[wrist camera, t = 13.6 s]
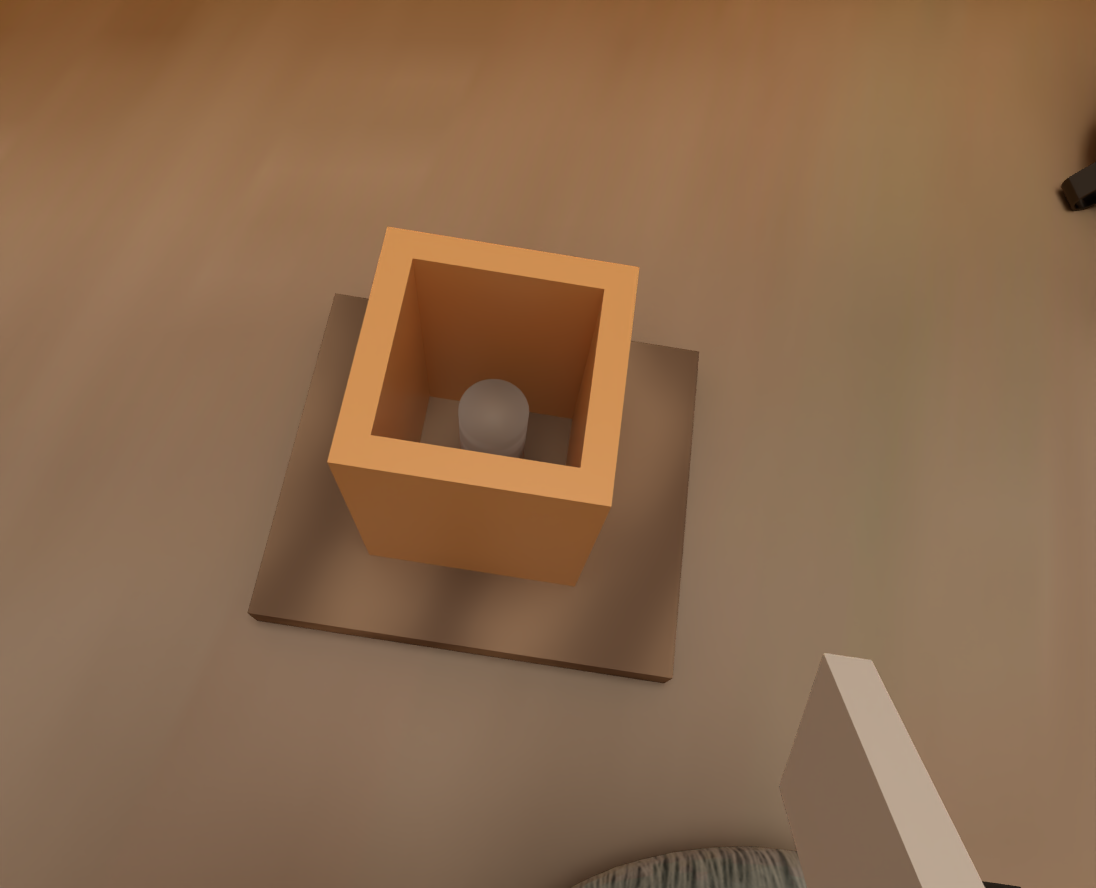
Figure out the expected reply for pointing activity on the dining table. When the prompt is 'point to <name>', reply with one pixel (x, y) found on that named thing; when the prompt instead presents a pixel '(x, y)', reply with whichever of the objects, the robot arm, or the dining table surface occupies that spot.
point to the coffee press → (1081, 188)
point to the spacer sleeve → (455, 365)
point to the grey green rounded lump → (707, 870)
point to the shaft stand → (482, 598)
